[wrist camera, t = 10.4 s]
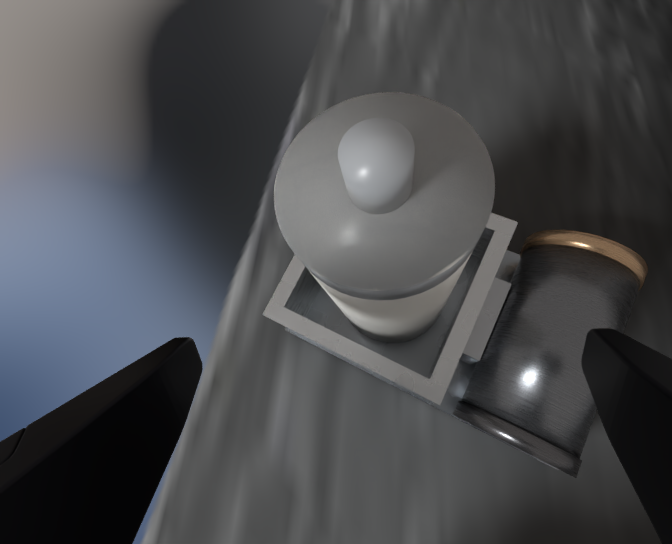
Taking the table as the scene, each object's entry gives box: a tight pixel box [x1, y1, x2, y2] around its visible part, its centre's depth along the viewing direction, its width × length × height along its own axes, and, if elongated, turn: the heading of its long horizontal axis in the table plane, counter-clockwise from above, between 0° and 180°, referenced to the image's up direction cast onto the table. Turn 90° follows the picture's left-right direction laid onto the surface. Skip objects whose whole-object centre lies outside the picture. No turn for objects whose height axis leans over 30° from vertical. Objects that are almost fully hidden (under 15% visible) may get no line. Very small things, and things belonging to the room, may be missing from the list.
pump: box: [274, 92, 495, 343], centre depth 16 cm, size 6×6×14 cm
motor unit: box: [263, 213, 648, 478], centre depth 20 cm, size 10×16×6 cm, turn 63°
